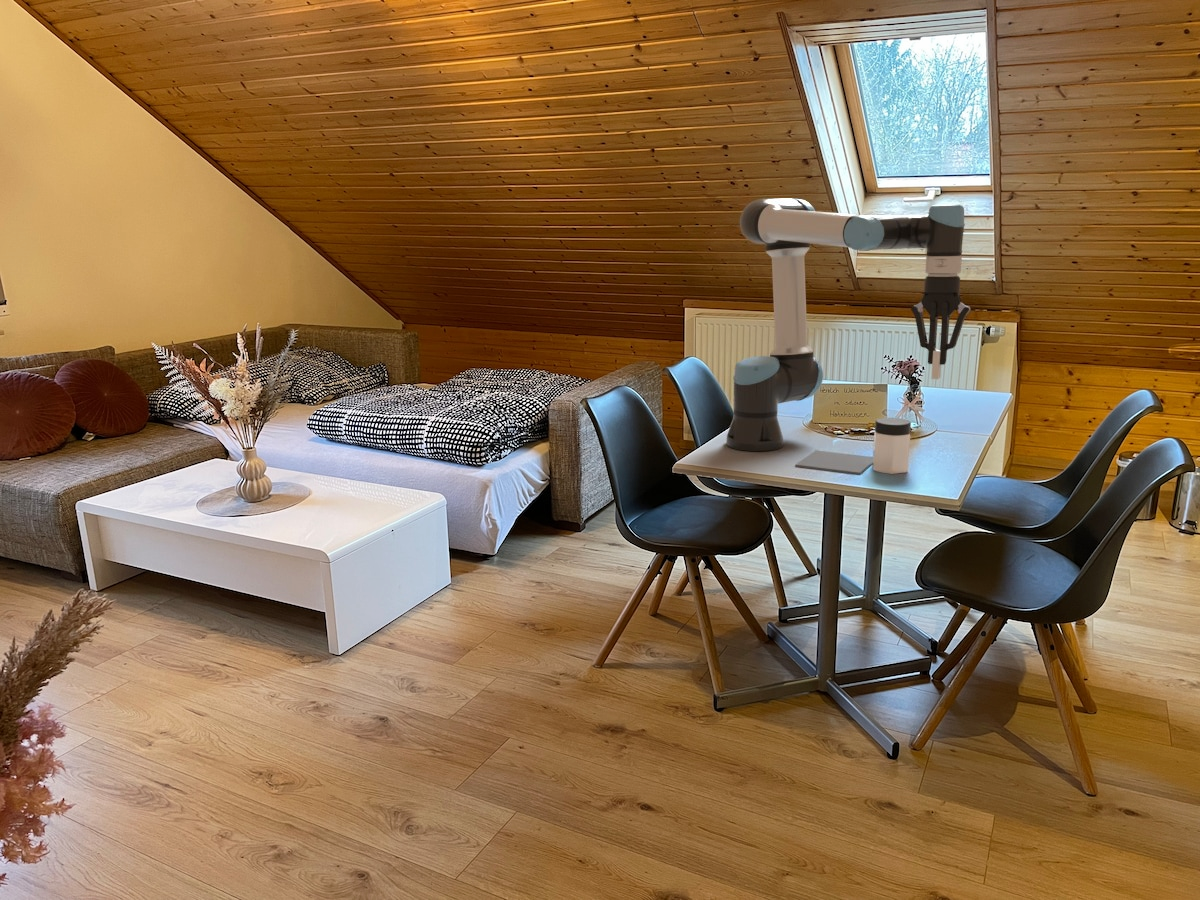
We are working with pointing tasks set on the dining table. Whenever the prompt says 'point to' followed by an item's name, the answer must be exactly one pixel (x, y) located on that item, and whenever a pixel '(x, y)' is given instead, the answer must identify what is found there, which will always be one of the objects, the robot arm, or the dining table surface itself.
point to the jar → (891, 445)
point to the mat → (836, 462)
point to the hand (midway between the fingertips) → (935, 378)
